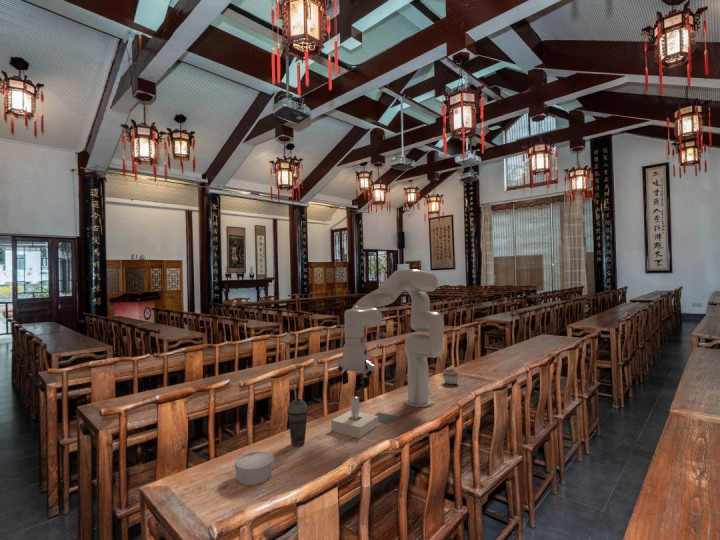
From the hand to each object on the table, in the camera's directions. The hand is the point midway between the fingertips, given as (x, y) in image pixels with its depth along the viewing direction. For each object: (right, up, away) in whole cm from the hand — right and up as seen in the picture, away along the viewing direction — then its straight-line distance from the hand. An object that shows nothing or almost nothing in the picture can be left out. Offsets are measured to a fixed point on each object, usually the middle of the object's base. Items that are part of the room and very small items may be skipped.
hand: (355, 385), depth 145 cm
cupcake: (+52, -18, +60) cm, 81 cm away
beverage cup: (-20, -17, -14) cm, 30 cm away
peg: (0, -17, -1) cm, 17 cm away
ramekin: (-29, -16, -35) cm, 49 cm away
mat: (+11, -17, +9) cm, 22 cm away
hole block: (0, -17, -1) cm, 17 cm away
